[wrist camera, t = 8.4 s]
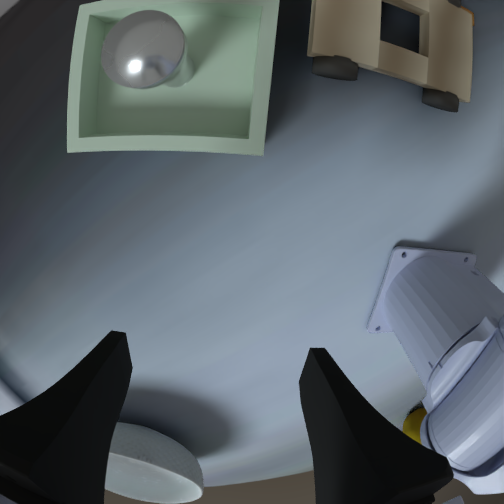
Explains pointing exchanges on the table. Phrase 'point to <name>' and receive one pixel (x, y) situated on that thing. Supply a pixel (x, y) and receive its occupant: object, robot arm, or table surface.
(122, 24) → the stop pin
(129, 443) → the cereal bowl
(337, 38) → the toy car
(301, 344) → the table surface
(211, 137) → the tray
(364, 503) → the robot arm
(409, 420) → the apple
